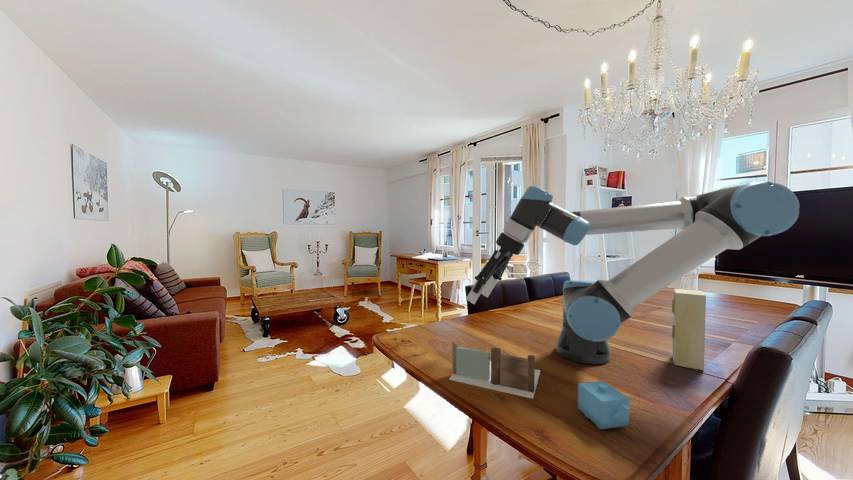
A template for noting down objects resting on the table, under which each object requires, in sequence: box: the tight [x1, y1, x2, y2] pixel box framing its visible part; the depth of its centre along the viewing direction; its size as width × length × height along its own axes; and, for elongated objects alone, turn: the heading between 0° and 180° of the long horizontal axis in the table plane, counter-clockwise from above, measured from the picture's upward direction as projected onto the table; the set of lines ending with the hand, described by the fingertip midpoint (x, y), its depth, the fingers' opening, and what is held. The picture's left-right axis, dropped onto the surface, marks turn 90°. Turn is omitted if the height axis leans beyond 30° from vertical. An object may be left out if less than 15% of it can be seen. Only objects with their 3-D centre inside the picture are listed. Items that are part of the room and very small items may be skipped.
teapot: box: [577, 380, 631, 430], centre depth 64 cm, size 12×6×8 cm, turn 10°
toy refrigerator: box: [671, 288, 707, 371], centre depth 91 cm, size 8×7×21 cm
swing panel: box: [451, 341, 491, 381], centre depth 83 cm, size 10×2×8 cm, turn 64°
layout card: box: [448, 360, 541, 400], centre depth 84 cm, size 21×15×1 cm
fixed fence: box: [490, 347, 536, 392], centre depth 78 cm, size 11×2×9 cm, turn 64°
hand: (477, 298), depth 95 cm, fingers open, 13 cm apart
